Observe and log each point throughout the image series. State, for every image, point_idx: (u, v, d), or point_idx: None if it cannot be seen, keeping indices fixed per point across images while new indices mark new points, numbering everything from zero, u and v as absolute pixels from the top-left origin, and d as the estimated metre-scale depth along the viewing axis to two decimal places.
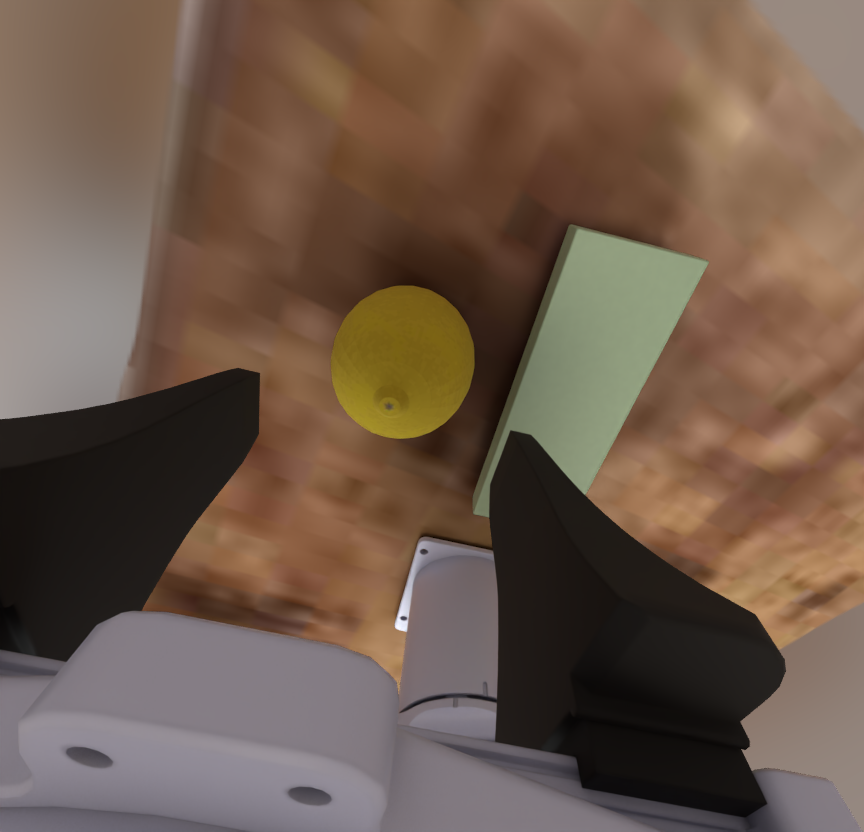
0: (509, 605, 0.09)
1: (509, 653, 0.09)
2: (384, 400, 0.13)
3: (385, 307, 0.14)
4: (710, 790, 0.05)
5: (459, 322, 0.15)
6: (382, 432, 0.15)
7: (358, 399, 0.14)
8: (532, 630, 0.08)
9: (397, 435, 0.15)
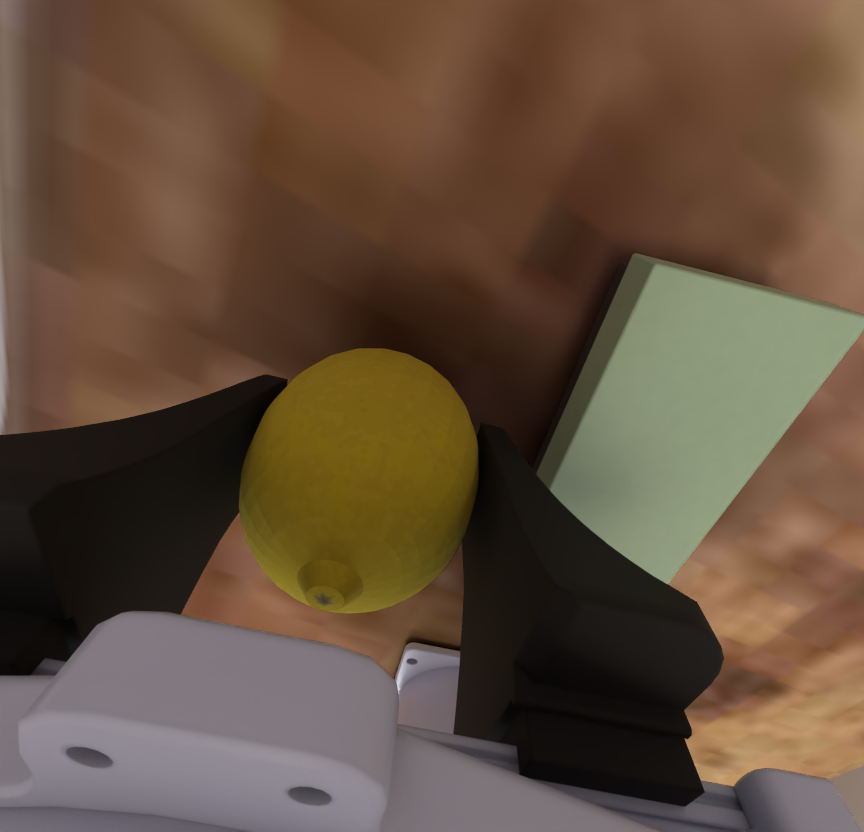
0: (472, 597, 0.09)
1: (469, 645, 0.08)
2: (314, 590, 0.07)
3: (325, 407, 0.08)
4: (647, 778, 0.05)
5: (454, 417, 0.09)
6: None
7: (274, 571, 0.08)
8: (487, 621, 0.08)
9: None
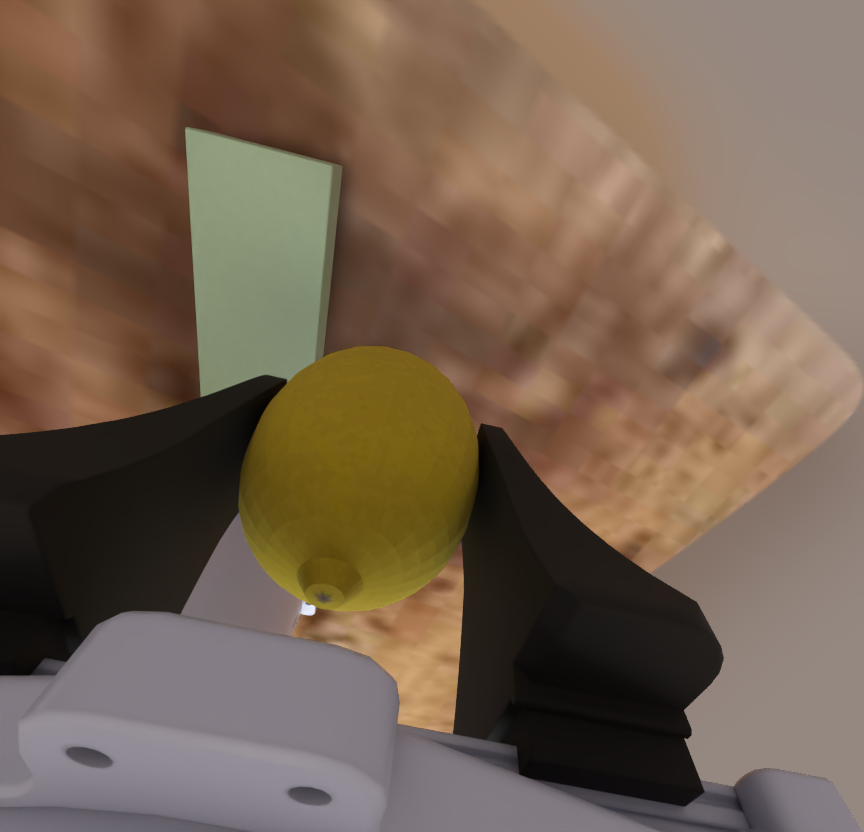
0: (472, 597, 0.09)
1: (469, 645, 0.08)
2: (314, 588, 0.07)
3: (325, 404, 0.08)
4: (647, 778, 0.05)
5: (454, 415, 0.09)
6: None
7: (274, 569, 0.08)
8: (487, 621, 0.08)
9: None
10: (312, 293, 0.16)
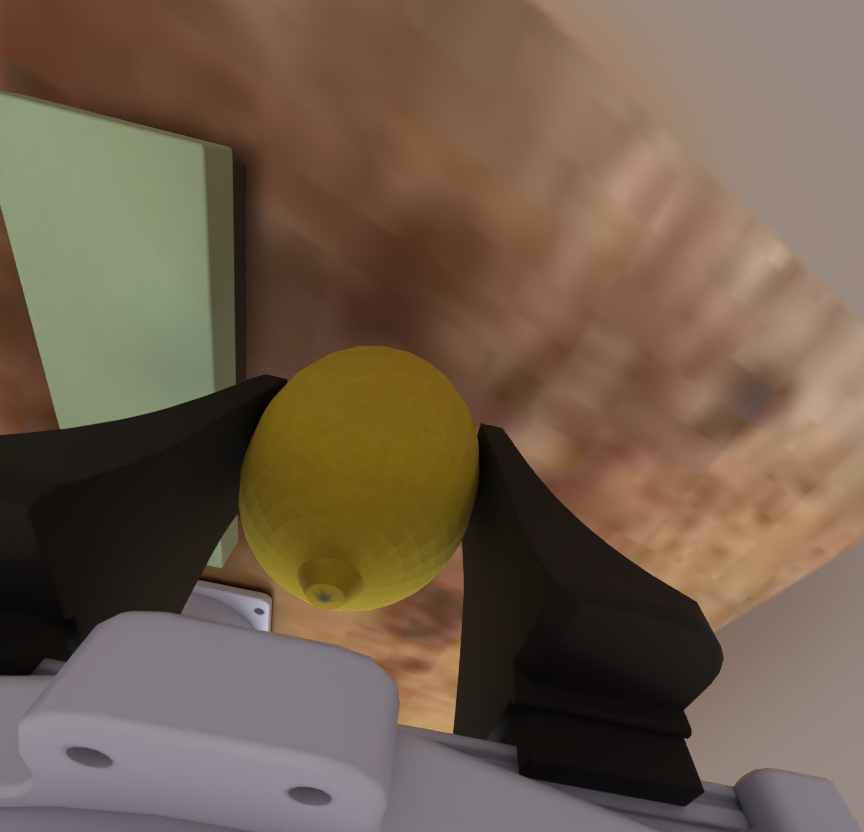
0: (472, 597, 0.09)
1: (469, 645, 0.08)
2: (314, 587, 0.07)
3: (325, 403, 0.08)
4: (647, 778, 0.05)
5: (454, 415, 0.09)
6: None
7: (275, 569, 0.08)
8: (487, 621, 0.08)
9: None
10: (199, 333, 0.11)
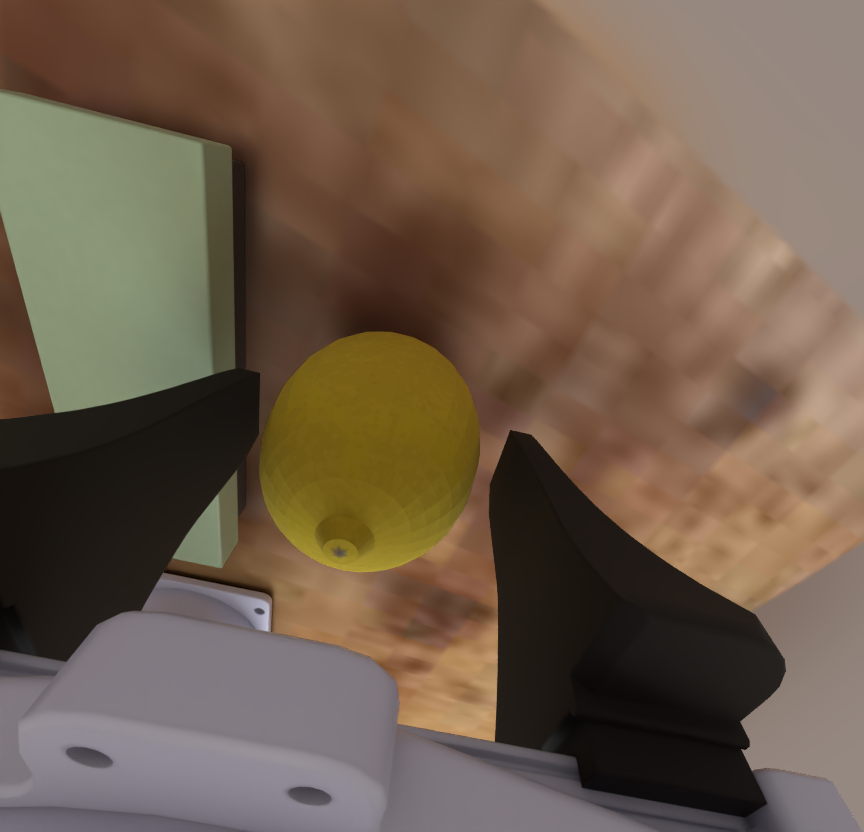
0: (509, 605, 0.09)
1: (509, 653, 0.09)
2: (331, 543, 0.08)
3: (338, 380, 0.09)
4: (710, 790, 0.05)
5: (456, 393, 0.10)
6: (337, 568, 0.10)
7: (293, 530, 0.09)
8: (532, 630, 0.08)
9: None
10: (198, 333, 0.11)
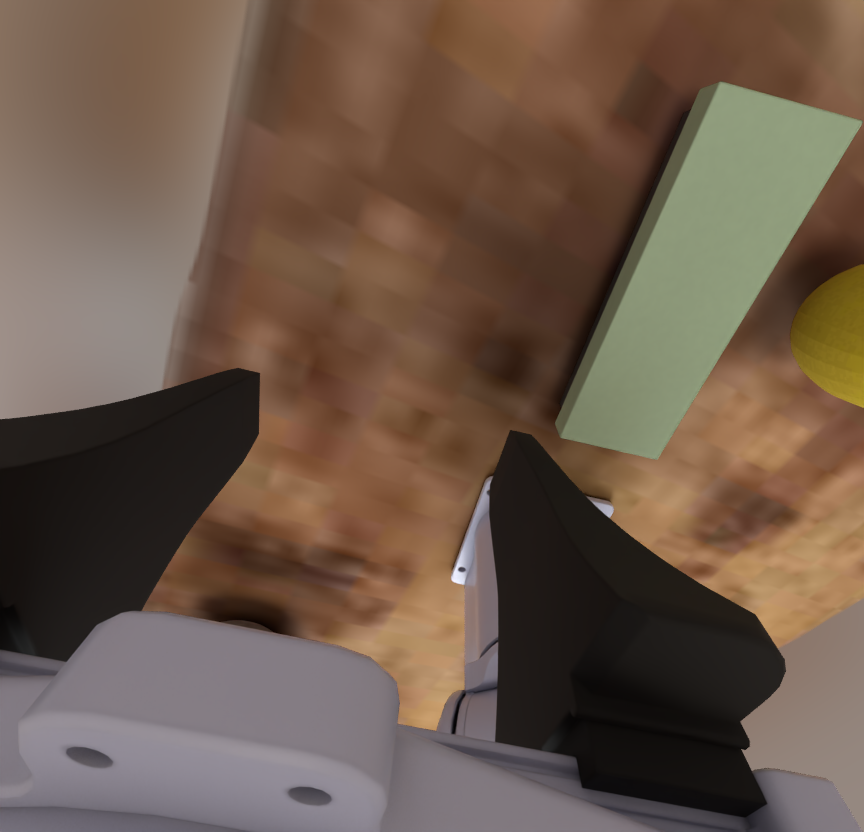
0: (509, 605, 0.09)
1: (509, 653, 0.09)
2: None
3: None
4: (710, 790, 0.05)
5: None
6: None
7: None
8: (532, 630, 0.08)
9: None
10: (770, 259, 0.16)
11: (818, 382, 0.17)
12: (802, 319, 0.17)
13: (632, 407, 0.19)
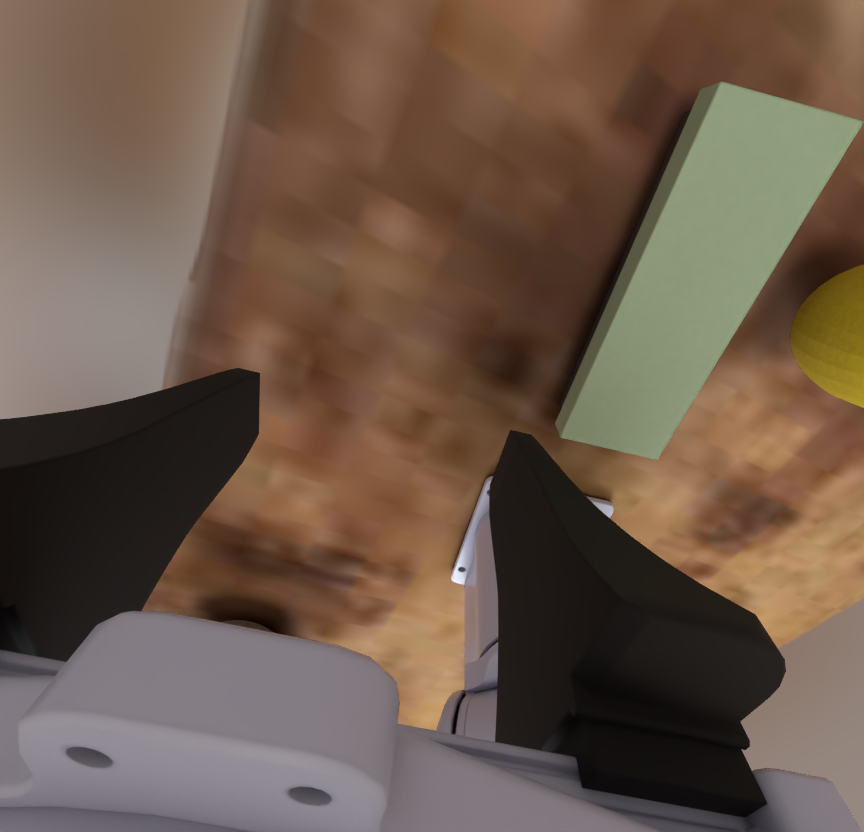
0: (509, 605, 0.09)
1: (509, 653, 0.09)
2: None
3: None
4: (710, 790, 0.05)
5: None
6: None
7: None
8: (532, 630, 0.08)
9: None
10: (771, 259, 0.16)
11: (818, 382, 0.17)
12: (802, 319, 0.17)
13: (632, 407, 0.19)
